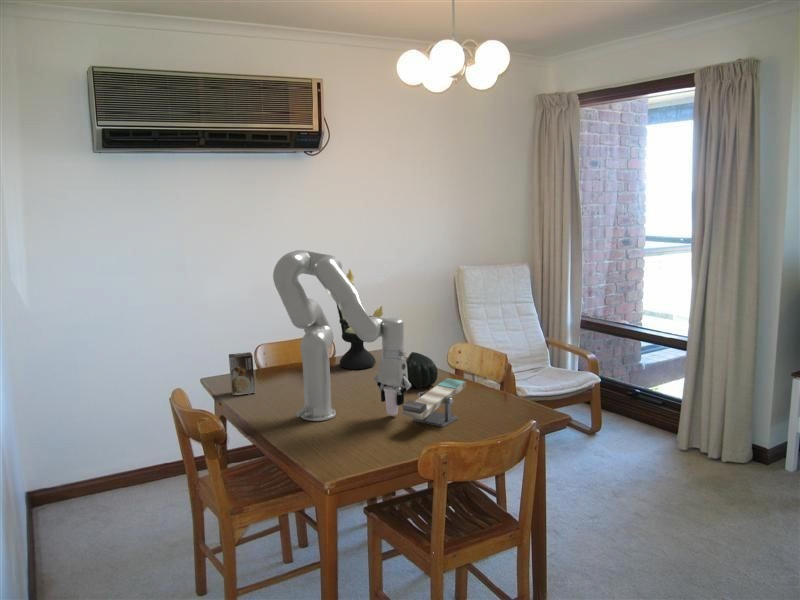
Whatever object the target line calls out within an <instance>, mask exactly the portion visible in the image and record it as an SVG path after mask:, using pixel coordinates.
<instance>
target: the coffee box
mask: <svg viewBox="0 0 800 600" xmlns="http://www.w3.org/2000/svg"><path fill="white" fill-rule="evenodd" d="M253 358H254V357H253V354H252V352H250V351H249V352H242V353H241V352H238V353H229V354H228V363H229V365H228V366H229V376H230V377H229V379H230V390H232V392H231V395H232V394H235V393H250V392H255V393H256V384H255V372H254V371H255V370H254V359H253Z"/></svg>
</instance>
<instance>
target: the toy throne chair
mask: <svg viewBox="0 0 800 600" xmlns="http://www.w3.org/2000/svg"><path fill="white" fill-rule="evenodd" d="M346 276H347V278H348V279H349V280H350V282H351V283H352V284H353V285H354V284H355V283H354V278H355V276H354V274H353V272H352V269H351V268H349V269H348V272H347V274H346ZM335 303H336V302H335ZM336 308H337V312H338V317H339V324H340V326H341V327H340V328H341V338H342V340H343V341H344V342H345V343H346V342H347V343H350V348H349V349H348V350H347V351H346V352H345V353H344V354H343V355H342V356H341V358H340V360H339V365H340V366H341V368H344V369H348V370H363V369H368V368H369V369H370V368H372V367H374V366H375V364H376V363H377V361H376V358H375V357H374V355H373V354H372V353H371V352H370V351H368V350H367V349H366V348H365V347H364V343H365V342H364V341H362V340H361V339H360V338H359V337H358V336H357V335H356V333H355V332H354V331H353V329H352V328H351V327H350V326H349V324H348V323H347V321H346V320H345V318H344V316H343V314H342V312H341V311H340V309H339V307H338V305H337V303H336ZM383 310H384V309H383V305H381V306H380V307H379V308H376V310H375V311H374V313H373V315H368V316H369V317H372V316H373V317H380V318H382V316H383V315H384V314H383V313H384V312H383ZM373 365H374V366H373Z"/></svg>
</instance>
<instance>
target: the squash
mask: <svg viewBox="0 0 800 600" xmlns="http://www.w3.org/2000/svg"><path fill="white" fill-rule="evenodd" d="M406 364H407V373H408V381H409V382H410V384H411V387H410V388H411V389H417V390H420V389H423V387H425V388H427V387H429V386H432V385H434V384H435V383H436V381H437V380H438V367H437V365H436V364H435V362H434V361H433V359H431V358H430V357H428V356H426V355H424V354H421V353H418V352H414V351H411V353H409V355H408V357H407V359H406ZM410 388H409V389H410Z"/></svg>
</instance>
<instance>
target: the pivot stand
mask: <svg viewBox="0 0 800 600" xmlns="http://www.w3.org/2000/svg"><path fill="white" fill-rule="evenodd" d="M425 393H427V392H425V391H421V392H418V393H417V397H418V398H420V397H421V396H423V395H424V394H425ZM453 403H454V399H453V397H452V398H451V397H446V398H445V403H444V413H443V412H439V411H436V410H435V411H433V412H432V413H431V414H429V415H428V416H427V417H425V418H424V419H423V420H420V419H415V418H412V419H413V420H412V421H413V422H416V423H420V422H421V424H425V423H426V424H425V425H429V424H430V426H434V425H435V426H434V427H438V426H439V428H444V427H446V426H448V425H449V424H452V423H453V422H455V421H457V420H458V415H452V404H453Z"/></svg>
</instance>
